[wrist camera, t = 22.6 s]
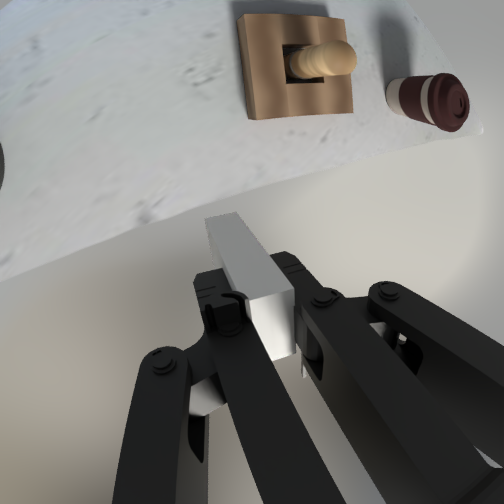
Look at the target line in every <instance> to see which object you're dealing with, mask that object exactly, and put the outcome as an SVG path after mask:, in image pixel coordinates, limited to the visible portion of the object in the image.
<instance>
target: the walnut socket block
mask: <svg viewBox="0 0 504 504" xmlns="http://www.w3.org/2000/svg"><path fill="white" fill-rule="evenodd" d="M237 29H238V37H239V45H240V53H241V61H242V69H243V77H244V85H245V93H246V102H247V110H248V119H251V120H263V119H272V118H282V117H293V116H305V115H320V114H341V113H353V99H352V85H351V73H349V74H346V75H333V76H322V77H313V78H312V83H300V84H286V77H285V68H284V60H283V51H282V48H310V47H313V46H317V45H320V44H324V43H328V42H331V41H335V40H341V41H344V42H346V43H347V37H346V29H345V22H344V19H338V18H330V17H320V16H309V15H293V14H243V15H242V16H241V17H240V18H239V19H238V20H237Z"/></svg>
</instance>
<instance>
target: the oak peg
mask: <svg viewBox="0 0 504 504" xmlns="http://www.w3.org/2000/svg"><path fill="white" fill-rule="evenodd" d="M283 60H284V68H285V77H286V78H287V79H290V80H296V79H311V78H313V77H322V76H333V75H346V74H349V73H351V72H352V71H353V70H354V69H355V67H356V64H357V57H356V53H355V51H354V49H353V48H352V47H351V46H350V45H349V44H348V43H346V42H344V41H341V40H335V41H331V42H328V43H324V44H320V45H317V46H313V47H310V48H306V49H299V50H296V51H294V52H293V53H290V54H287V55H285V56H283Z"/></svg>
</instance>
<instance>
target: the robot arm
mask: <svg viewBox="0 0 504 504" xmlns="http://www.w3.org/2000/svg"><path fill="white" fill-rule="evenodd" d="M3 178H4V155H3V150H2V147H1V144H0V189H1V186H2V182H3ZM205 224H206V229H207V234H208V239H209V245H210V249H211V255H212V260H213V265H214V270H211V271H207V272H203V273H199V274H197V275H196V277H195V279H194V282H193V284H194V288H195V292H196V296H197V300H198V303H199V307H200V312H201V316H202V320H203V323H204V333H203V336H202V337H201V338H200V340H199V341H198V342H197V343H196V344H194V345H192V346H191V347H189V348H187V349H185V350H184V351H183V350H181V349H179V348H176V347H169V346H166V347H161V348H157V349H155V350H153V351H151V352H150V353H148V354H147V355H146V356H145V357H144V359H143V360H142V362H141V364H140V368H139V372H138V376H137V380H136V384H135V388H134V392H133V396H132V401H131V406H130V409H129V414H128V418H127V423H126V428H125V433H124V438H123V443H122V447H121V453H120V458H119V463H118V469H117V475H116V481H115V487H114V493H113V500H112V504H208V443H209V441H208V439H209V413H210V412H212V411H214V410H215V409H217V408H219V407H220V406H222V405H224V404H225V403H228V407H229V410H230V413H231V416H232V418H233V422H234V425H235V427H236V430H237V433H238V436H239V439H240V442H241V445H242V448H243V451H244V453H245V456H246V459H247V462H248V464H249V467H250V470H251V472H252V475H253V478H254V480H255V483H256V486H257V488H258V491H259V493H260V496H261V498H262V501H263V503H264V504H346V502H345V500H344V498H343V497H342V495H341V493H340V491H339V489H338V487H337V486H336V484H335V482H334V480H333V478H332V476H331V475H330V473H329V471H328V469H327V467H326V465H325V464H324V462H323V460H322V458H321V456H320V454H319V452H318V450H317V449H316V447H315V445H314V443H313V441H312V439H311V438H310V436H309V433H308V431H307V430H306V428H305V426H304V424H303V422H302V420H301V418H300V416H299V414H298V412H297V410H296V408H295V406H294V404H293V402H292V401H291V399H290V397H289V395H288V393H287V391H286V389H285V387H284V385H283V383H282V381H281V379H280V377H279V375H278V373H277V371H276V369H275V367H274V365H273V363H272V361H274V360H277V359H280V358H283V357H286V356H289V355H292V354H295V353H296V343H297V344H298V346H299V348H300V349H301V351H302V368H301V371H302V377H303V378H305V377H306V370H307V372H308V374H309V375H310V377H311V379H312V380H313V382H314V384H315V385H316V387H317V389H318V390H319V392H320V394H321V396H322V397H323V399H324V401H325V402H326V404H327V406H328V407H329V409H330V411H331V413H332V414H333V416H334V417H335V419H336V421H337V422H338V424H339V426H340V428H341V429H342V431H343V433H344V434H345V436H346V438H347V439H348V441H349V442H350V444H351V446H352V447H353V449H354V451H355V453H356V454H357V456H358V458H359V459H360V461H361V463H362V464H363V466H364V467H365V469H366V471H367V472H368V474H369V476H370V477H371V479H372V481H373V482H374V484H375V486H376V487H377V489H378V491H379V492H380V494H381V495H382V497H383V499H384V500H385V502H386V504H504V346H503V345H501V344H500V343H498V342H496V341H495V340H493V339H491V338H490V337H488V336H487V335H485V334H483V333H482V332H480V331H478V330H477V329H475V328H473V327H472V326H470V325H469V324H467V323H466V322H464V321H462V320H461V319H459V318H457V317H455V316H454V315H452V314H450V313H449V312H447V311H445V310H444V309H442V308H440V307H439V306H437V305H435V304H433V303H432V302H430V301H428V300H426V299H425V298H423V297H421V296H420V295H418V294H416V293H414V292H413V291H411V290H409V289H407V288H406V287H404V286H402V285H400V284H398V283H395V282H390V281H384V282H378V283H375V284H373V285H372V286H371V287H370V289H369V293H368V296H365V297H355V298H345V297H344V296H343V294H341V293H340V292H338V291H337V290H335V289H332V288H326V287H323V286H322V285H321V284H320V283H319V282H318V281H317V280H316V279H315V277H314V276H313V275H312V274H311V273H310V272H309V271H308V270H306V267H305V266H304V265H303V264H301V262H300V261H299V260H298V258H296V256H295V255H292V254H290V253H288V252H286V251H283V252H279V253H275V254H272V255H269V254H268V253H267V252H266V250H265V249H264V248H263V246H262V245H261V244H260V242H259V241H258V240H257V238H256V237H255V236H254V234H253V233H252V232H251V231H250V229H249V228H248V226H246V224H245V223H244V221H243V220H242V219H241V217H240V216H239V215H238V214H237V212H233V213H229V214H224V215H220V216H215V217H211V218H207V219H205ZM400 333H401V334H402V335H404V336H405V337H406V338H407V339H406V341H402V340H400V339H399V335H400ZM473 445H474V446H475V447H476V448H478V449H479V450H480V451H482V452H483V453H484V454H486V455H487V456H488V457H490V458H491V459H492V460H494V461H495V462H496V463H498V464H499V465H500V466H502V467H503V468H494V467H491V466H490V465H489V464H487V463H486V461H485V460H484V459H483V457H482V456H481V455H480V453H479V452H478V451H477V450H476V448H475V447H474V446H473Z"/></svg>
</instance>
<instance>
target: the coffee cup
mask: <svg viewBox="0 0 504 504" xmlns="http://www.w3.org/2000/svg"><path fill="white" fill-rule="evenodd" d="M386 99H387V103H388V105H389V107H390V108H391V110H392V111H393V112H395V113H396V114H399V115H403V116H407V117H409V118H411V119H414V120H417V121H421V122H424V123H428V124H431V125H435V126H437V127H438V128H440V129H441V130H444V131H448V132H455V131H457V130H459V129H460V128H461V126H462V125H463V123H464V122H465V121H466V119H467V117H468V114H469V108H470V105H469V98H468V95H467V92H466V90H465V89H464V87H463V85H462V84H461V82H460V81H459V79H458V78H457V77H455V76H454V75H452V74H449V73H440V74H437V75H435V76H433V75H430V76H412V77H407V78H399V79H394V80H392V81H391V82H390V83H389V85H388V87H387V91H386Z"/></svg>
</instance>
